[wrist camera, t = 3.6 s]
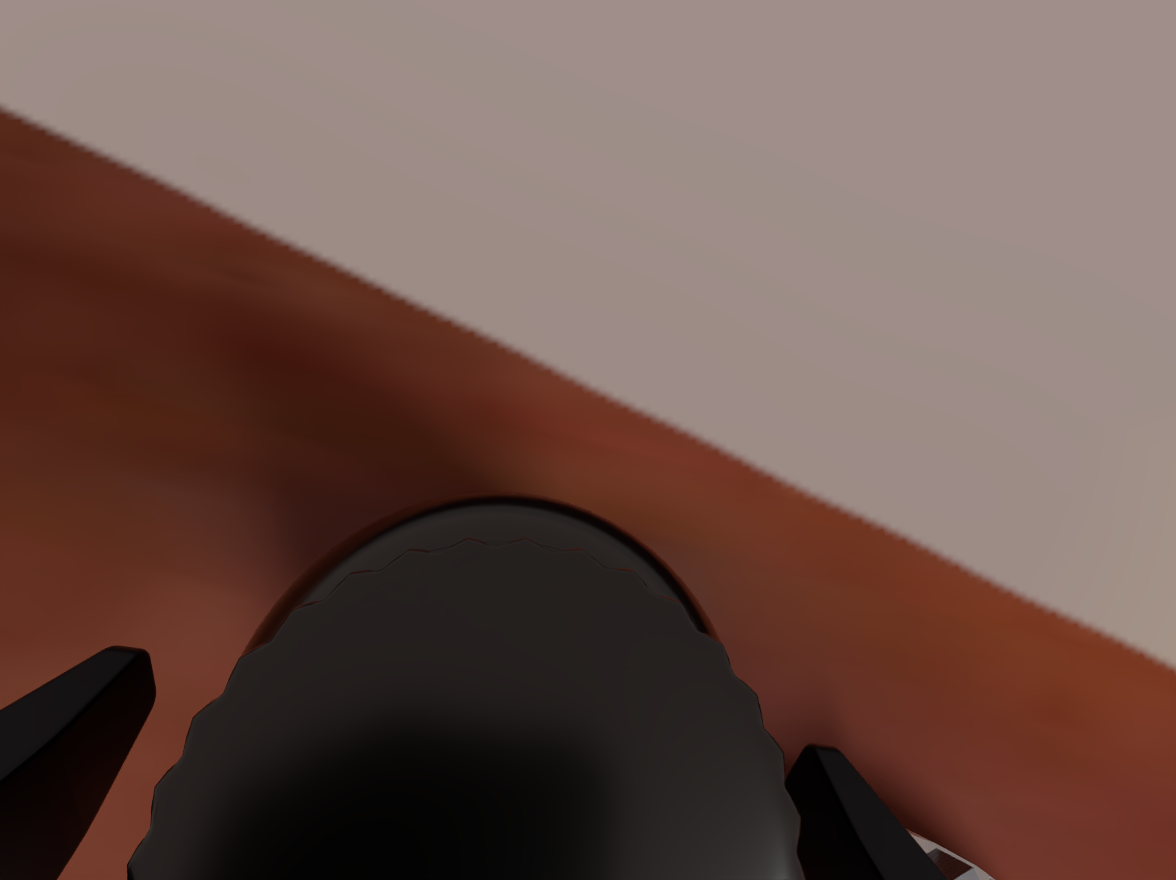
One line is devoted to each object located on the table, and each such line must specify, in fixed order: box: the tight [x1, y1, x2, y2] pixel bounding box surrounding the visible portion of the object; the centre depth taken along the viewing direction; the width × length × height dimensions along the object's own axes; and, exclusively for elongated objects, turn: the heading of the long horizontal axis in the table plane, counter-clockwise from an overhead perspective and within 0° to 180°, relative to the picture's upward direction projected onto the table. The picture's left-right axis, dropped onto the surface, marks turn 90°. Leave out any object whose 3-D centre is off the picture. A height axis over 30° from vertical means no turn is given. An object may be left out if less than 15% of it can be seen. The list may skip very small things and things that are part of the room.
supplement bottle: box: [127, 492, 806, 880], centre depth 10 cm, size 7×7×12 cm
